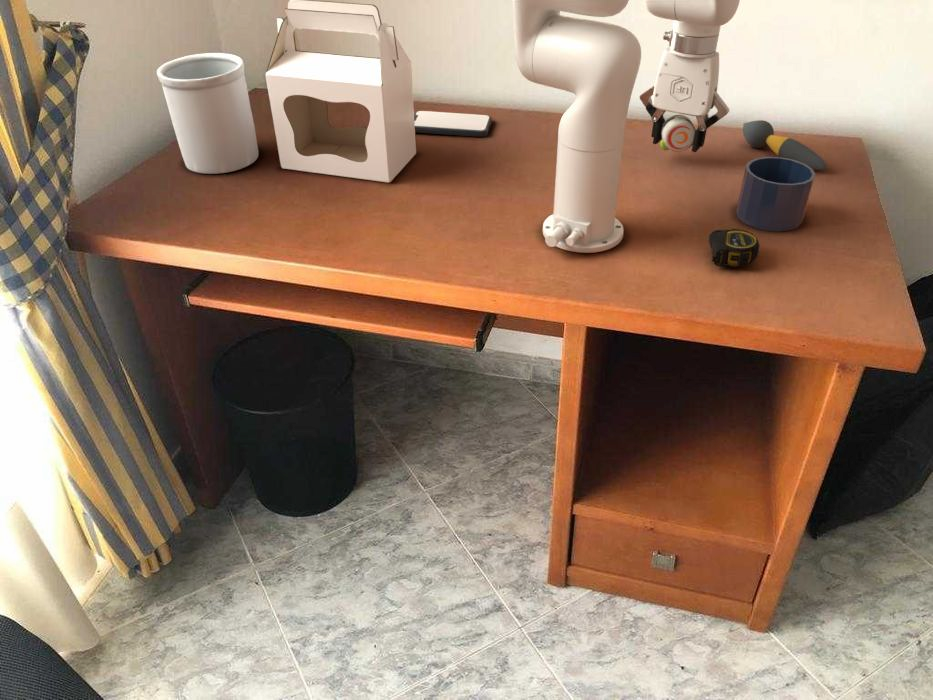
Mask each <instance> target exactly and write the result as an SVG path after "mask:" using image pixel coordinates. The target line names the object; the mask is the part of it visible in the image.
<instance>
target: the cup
mask: <svg viewBox="0 0 933 700" xmlns="http://www.w3.org/2000/svg"><path fill="white" fill-rule="evenodd" d="M744 167H745V168H744V172H743V176H742V182H741V186H740V190H739V194H738V195H739V196H738V200H737V204H736V211H735V214H736V216H737V218H738V219H739V221H741V222H742V223H744V224H745V225H747V226H749V227H752V228H754V229H758V230H761V231H767V232H789V231H792V230H796V229H797V228H799V227H800V226H801V225H802V224H803V220H804V218H805V215H806V210H807V208H808V204H809V200H810V197H811V193H812V190H813V186H814V182H815V180H816V173H815V170H813V169H812V168H810V167H809V166H807V165H806V164H804V163H801V162H799V161H796V160H793V159H788V158H782V157H780V156H763V157H756V158H754V159H752V160H748V162H747V163H746V165H745V166H744Z"/></svg>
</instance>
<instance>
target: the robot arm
mask: <svg viewBox="0 0 933 700" xmlns="http://www.w3.org/2000/svg"><path fill="white" fill-rule="evenodd" d="M629 1H630V0H512V1H511V2H512V16H513V35H514V49H515V50H514V51H515V58H516V59H515V60H516V65H517V68H518V70H519V72H520V74H521V76H523V77H524V78H525V79H526V80H527V81H530V82H531V83H533V84H537V85H541V86H545V87H549V88H552V89H553V88H554V89H558V90H561V91H565V92H569V93H570V94H571V93H572V94H574V95H575V96H576V98H575V100H574V101H573V103H572V104H571V106H570V107H569V108H568V109H567V110H565V112H564V113H563V115H562V116H561V119H560V121H559V124H558V129H557V130H558V131H557V132H558V134H557V147H556V150H557V151H556V165H555V182H554V197H553V198H554V199H553V212H552V214H551V215H549V216H547V218H546V219H545V220H544V221H543V223H542V235H543V237H544V242H545V244H546V245H547V247H550V248H554V247H556V248H559V249H561V250H563V251H568V252H572V253H578V254H592V253H593V254H594V253H599V252H600V253H601V252H604V251H607V250H610V249H612V248H613V249H614V248H615V247H616V246H617V245H619V244H620V243H621V242H622V240H623V238H624V231H625V229H624V225H623V224H622V222H621V221H620V220H619V219H618V218H616V213H617V204H618V195H619V186H620V178H621V171H622V170H621V169H622V160H623V159H622V158H623V153H624V141H625V134H626V127H627V118H628V112H629V107H630V102H631V98H632V94H633V90H634V87H635V83H636V80H637V77H638V73H639V70H640V66H641V61H642V47H641V44H640V40H639V39H638V38H637V36H636V35H635V34H634V33H632V31H630V30H628V29H627V28H625V27H623V26H620V25H618V24H614V23H610V22H605V21H599V20H594V19H587V18H580V17H575V16H569V15H563V14H561V12H563V13H569V14H574V15H579V16H586V17H594V18H609V17H613V16H617V15H618V14H620V13H621V12H622V11H623V10H625V8H626V7H627V5H628V3H629ZM740 1H741V0H643V4H644V7H645V9H646V10H647V12H649V14H651V15H652V16H654V17H657V18H660V19H664V20H671V21H673V26H672V29H671V31H664V33H663V37H662V40H664V41H667V42H668V43H669V45H668V47H666V48H665V49H664V50H663V53H662V56H661V59H660V63H659V67H658V70H657V74H656V79H655V83H654V85H652V86H651V87H649V89H647V90H645V91H644V92H642V93H641V94H640V95H639V100H640V102H641V103H642V104H643V106H644V107H645V110H646V112H647V113H648V115H649V116H650V117H651V121H652V127H651V128H652V129H651V138H653V139H652V145H657V144H659V143H660V142H661V141H662V136H661V128H662V125H663V123H664V122H665V121H666V119H665V117H664V115H665V114H666V112H668V113H674V114H678V115H684V116H691V117H695V119H696V123H697V128H696V131H695V135H694V140H693V145H692V146H691V152H692V153H697V151H698V150H699V149H700V148H703V147H704V144H705V141H706V136H707V131H708V128H710V127H712V126H713V125H714V124H716V123H717V122H719V121H720V120H721V119H723V118H724V117H725V116H727V115H728V114H729V112H730V107H728V104H727V103H726V102H725V101H724V100H723V98H722V97H721V96H720V95H719V93H718V87H719V78H720V77H719V76H720V74H719V73H720V53H719V52H718V51H717V48H718V42H719V37H720V31H721V26H724V25H726V24H727V23H729V22H730V21H731V20H732V19H733V18H734V17H735V15H736V12H737V11H738V8H739V5H740ZM714 107H715V109H716V110H717V112H715V113H714V114H712V115H711V116H709V113H710V111H711V110H712V109H714Z"/></svg>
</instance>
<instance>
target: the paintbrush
mask: <svg viewBox="0 0 933 700" xmlns="http://www.w3.org/2000/svg"><path fill="white" fill-rule="evenodd" d="M742 124H743V125H742V134H743V137H744V139H745V142H746V143H747V144H748V145H749V146H750V147H752V148H757V149H759V148H764V147H767V146H768V147H769V149H771V150H772V151H773V152H774V153H775V154H776V155H777V157H782V158H788V159H793V160H796V161H799V162H801V163H804V164H806V165H807V166H809V167H810V168H812V169H813V171H825V170H826V169H827V163H826V162H825V160H824V159H823V158H822V157H821V156H820V155H819V154H817V153H816V152H815V151H813V149H811V148H810V147H808V146H807V145H805V144H803V143H801V142H799V141H797V140H796V139H793V138H791V137H789V136H788V137H787V136H782V135H777V134H775V131H774V127H773V125H772V124H771V123H770V122H768V121H767V120H763V119H759V120H751V121H748V122H743V123H742Z"/></svg>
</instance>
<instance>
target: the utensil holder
mask: <svg viewBox="0 0 933 700" xmlns="http://www.w3.org/2000/svg"><path fill="white" fill-rule="evenodd" d="M156 76H157V79H158V81H159V83H160V84H161V87H162V92H163V95H164V98H165V101H166V106H167V108H168V112H169V116H170V119H171V123H172V127H173V130H174V134H175V137H176V141H177V144H178V147H179V149H180V154H181V157H182V159H183V162H184V165H185V167H186V169H188V170H189V171H191V172H194V173H197V174H204V175H206V174H207V175H220V174H227V173H231V172H236V171H238V170H242V169H244V168H246V167H248V166H250V165H252V164H253V163H255V162H256V160H257V159H258V158H259V146H258V140H257V134H256V128H255V127H256V126H255V122H254V117H253V113H252V108H251V102H250V96H249V91H248V85H247V81H246V77H245V76H246V75H245V63H244V60H243V59H242V58H241V57H240V56H238V55H235V54H232V53H225V52H206V53H196V54H190V55H185V56H182V57H179V58H176V59H172V60H170V61H167V62H165V63H163V64H162V65H160V66H159V67H158V68H157V70H156Z"/></svg>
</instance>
